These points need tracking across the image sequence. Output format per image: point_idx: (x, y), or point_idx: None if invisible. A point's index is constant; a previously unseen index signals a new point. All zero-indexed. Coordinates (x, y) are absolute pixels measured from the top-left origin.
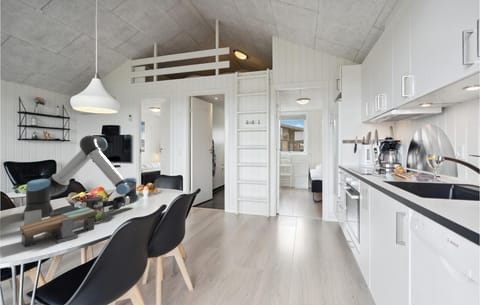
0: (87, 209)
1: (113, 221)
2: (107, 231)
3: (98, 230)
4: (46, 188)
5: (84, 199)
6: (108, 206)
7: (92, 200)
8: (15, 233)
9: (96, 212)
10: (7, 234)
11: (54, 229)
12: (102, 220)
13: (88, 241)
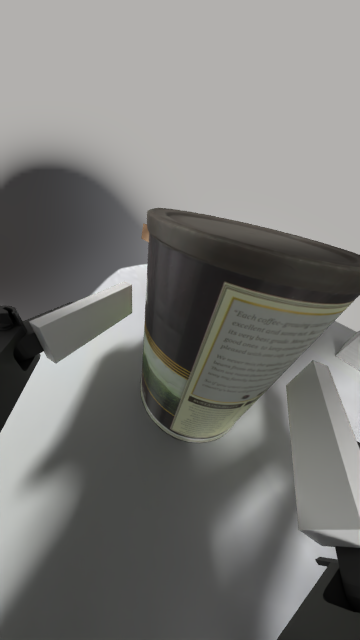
0: None
1: (79, 351)
2: (112, 281)
3: (137, 292)
4: None
5: (308, 240)
6: (91, 300)
7: (209, 216)
8: (345, 333)
9: (144, 229)
10: (354, 332)
11: None
12: (141, 380)
13: (145, 264)
